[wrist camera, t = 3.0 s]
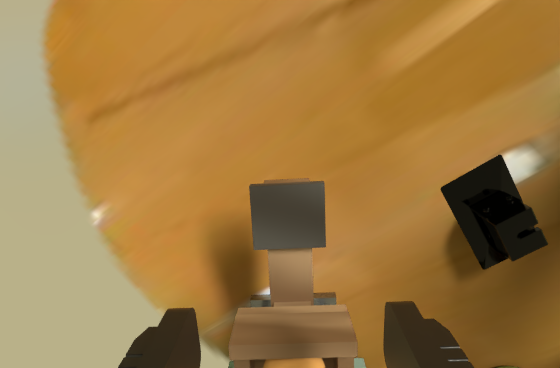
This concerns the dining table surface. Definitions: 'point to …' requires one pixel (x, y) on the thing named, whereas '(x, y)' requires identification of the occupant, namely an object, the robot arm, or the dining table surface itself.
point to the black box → (493, 214)
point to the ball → (294, 363)
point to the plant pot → (507, 367)
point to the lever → (291, 283)
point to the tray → (358, 363)
